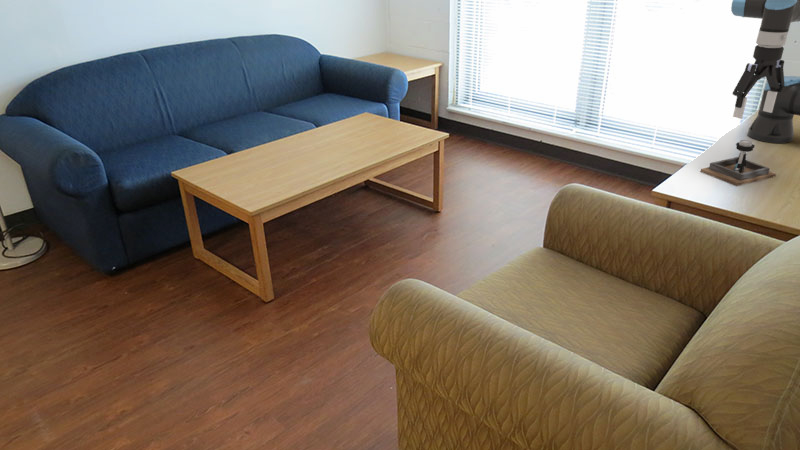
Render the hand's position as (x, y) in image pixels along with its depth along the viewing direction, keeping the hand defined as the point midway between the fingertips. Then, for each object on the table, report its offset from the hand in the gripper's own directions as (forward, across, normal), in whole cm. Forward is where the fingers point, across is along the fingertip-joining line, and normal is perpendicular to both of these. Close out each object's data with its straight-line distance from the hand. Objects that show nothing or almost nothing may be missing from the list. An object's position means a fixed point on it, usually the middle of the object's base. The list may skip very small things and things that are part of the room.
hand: (752, 114), depth 188 cm
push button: (+19, 0, 0) cm, 19 cm away
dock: (+20, 0, 0) cm, 20 cm away
